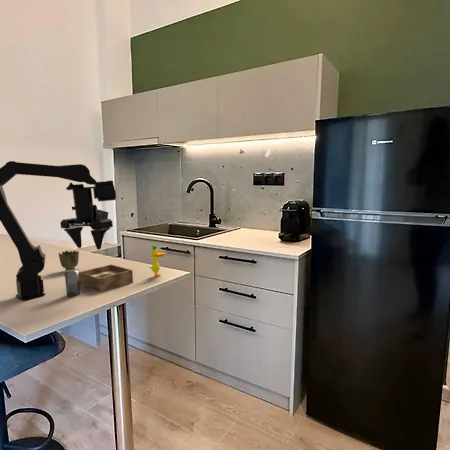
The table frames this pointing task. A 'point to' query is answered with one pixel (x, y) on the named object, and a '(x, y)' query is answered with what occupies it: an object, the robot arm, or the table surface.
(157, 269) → the toy figure
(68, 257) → the cup
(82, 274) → the walnut box
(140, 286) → the table surface
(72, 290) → the metal peg
